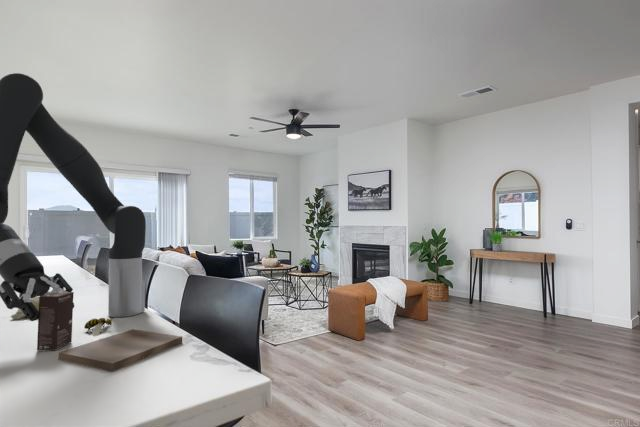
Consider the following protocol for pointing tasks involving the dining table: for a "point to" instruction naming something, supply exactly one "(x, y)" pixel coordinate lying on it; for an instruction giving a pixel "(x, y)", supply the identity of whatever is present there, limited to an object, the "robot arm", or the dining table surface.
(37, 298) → the yellow plush toy
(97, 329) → the insect
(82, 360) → the board
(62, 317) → the box
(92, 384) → the dining table surface
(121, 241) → the robot arm
